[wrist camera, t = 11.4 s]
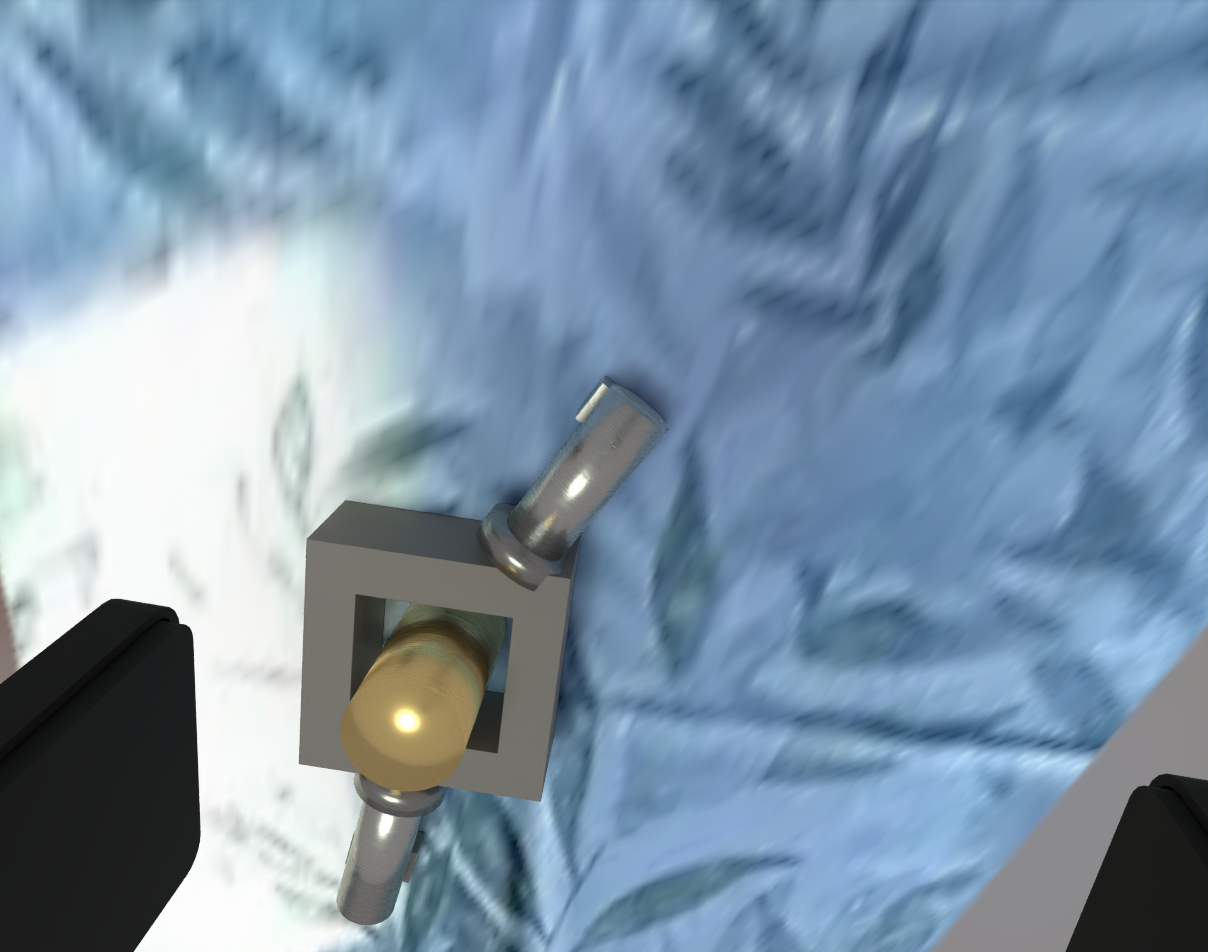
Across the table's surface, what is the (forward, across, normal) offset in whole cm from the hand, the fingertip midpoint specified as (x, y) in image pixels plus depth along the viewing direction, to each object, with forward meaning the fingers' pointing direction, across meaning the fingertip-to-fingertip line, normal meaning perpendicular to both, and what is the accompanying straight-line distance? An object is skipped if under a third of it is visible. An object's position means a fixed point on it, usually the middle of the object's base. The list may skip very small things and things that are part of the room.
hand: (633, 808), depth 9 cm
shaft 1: (+24, +9, +22) cm, 33 cm away
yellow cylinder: (+24, +7, +13) cm, 28 cm away
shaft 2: (+25, +3, +6) cm, 25 cm away
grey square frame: (+24, +7, +13) cm, 28 cm away
